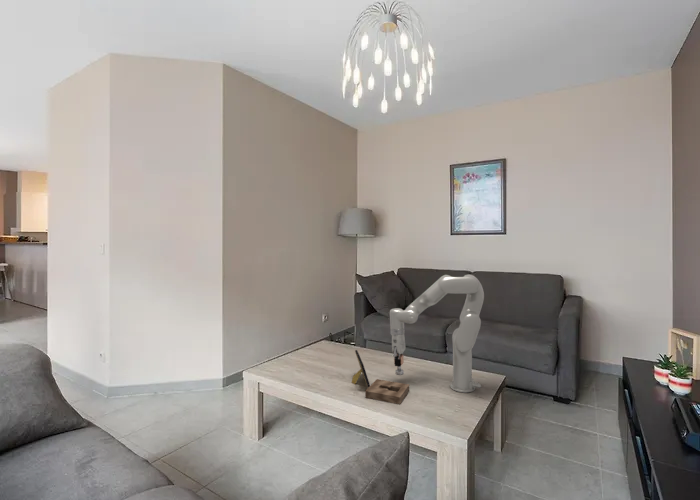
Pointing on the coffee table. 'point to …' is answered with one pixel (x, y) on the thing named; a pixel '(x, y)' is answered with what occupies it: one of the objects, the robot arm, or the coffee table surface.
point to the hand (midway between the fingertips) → (399, 364)
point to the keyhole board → (387, 391)
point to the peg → (399, 370)
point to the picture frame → (360, 371)
